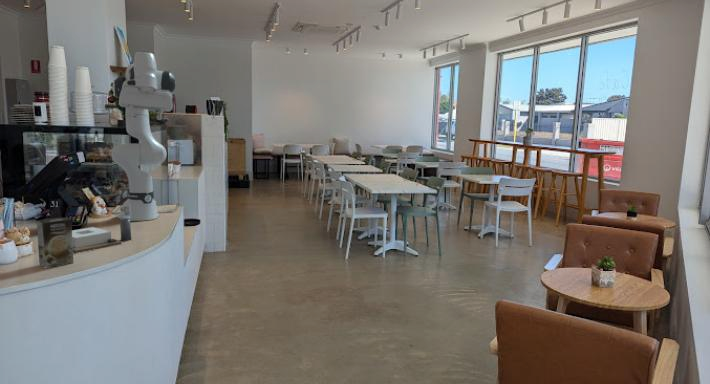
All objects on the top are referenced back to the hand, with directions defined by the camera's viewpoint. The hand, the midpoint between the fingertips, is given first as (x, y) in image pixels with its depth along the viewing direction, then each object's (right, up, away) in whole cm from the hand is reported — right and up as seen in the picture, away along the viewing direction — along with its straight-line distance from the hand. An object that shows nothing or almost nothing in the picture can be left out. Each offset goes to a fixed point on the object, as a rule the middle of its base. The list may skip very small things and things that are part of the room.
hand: (146, 118), depth 195 cm
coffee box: (-22, -56, -24) cm, 64 cm away
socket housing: (-27, -51, +4) cm, 58 cm away
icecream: (-54, -48, +23) cm, 76 cm away
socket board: (-27, -51, +4) cm, 58 cm away
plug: (-14, -50, +12) cm, 54 cm away
